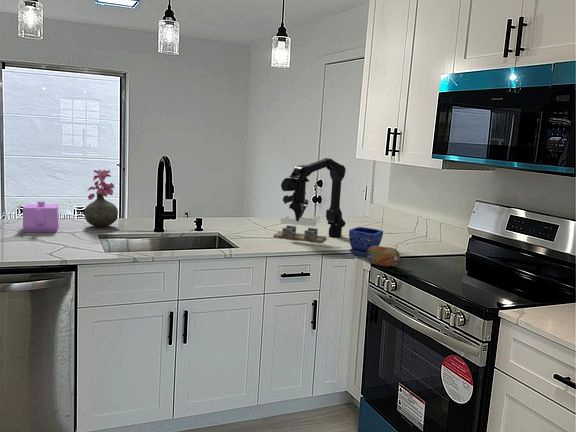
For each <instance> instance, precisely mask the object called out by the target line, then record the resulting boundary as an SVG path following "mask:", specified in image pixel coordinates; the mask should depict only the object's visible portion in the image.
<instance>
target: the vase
mask: <svg viewBox="0 0 576 432" xmlns="http://www.w3.org/2000/svg"><path fill="white" fill-rule="evenodd" d="M93 173H94V174H95V173H96V174H97V175H93V178H92V179H93V182H94V181H95V180H97V179H98V180H97V181H95V182H94V186H89V188H88V189H87V192H88V191H90V190H91V191H95V190H96V193H90V194H89V195H88V197H87V199H88V200H89V201H90V200H93V201H92V202H90V203H89V204H87V206H85V209H84V219H85V221H86V222H87V223H88V224H89V225H91V226H93V227H94V228H95V227H96V228H95V229H106V227H107V228H108V227H109V226H111V225H113V224H114V223H115V222H116V221H117V219H118V216H119V211H118V208H117V206H116V205H115V203H114V204H113V203H112V202H111V201H108V200H106V199H105V197H108V195H110V196H113V194H114V190H113V189H115V184H114V183H112V182H110V183H109V184H108V183H107V182H106V181H105V179H106V178H107V177H109V178H112V176H111V174H109V173H111V170H106V169H103V170H101V169H98V170H96V169H93ZM100 186H101V187H100ZM95 194H96V195H95ZM95 197H96V199H95V200H94V198H95Z"/></svg>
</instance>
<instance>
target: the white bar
mask: <svg viewBox="0 0 576 432" xmlns="http://www.w3.org/2000/svg"><path fill="white" fill-rule="evenodd" d="M280 224H283V225H285V224H287V225H294V226H297V225H298V226H307V227H315V226H316V225H317V219H316V218H308V217H307V218H305V217H301V218H300V219H299V221H296V217H293V216H285V215H284V216H283V215H282V216H281V217H280Z"/></svg>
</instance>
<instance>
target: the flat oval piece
mask: <svg viewBox="0 0 576 432" xmlns="http://www.w3.org/2000/svg"><path fill="white" fill-rule="evenodd" d="M365 257H366V259H367V261H368V262H369V263H370V264H372V265H377V266H382V267H386V268H387V267H388V268H390V267H389V266H390V265H393V267H395V266H396V265H398V264H399V262H400V259H401V254H400V252H399V251H398V250H397V248H394V247H389V246H388V247H387V246H381V245H379V246H371V247H370V248H369V249H368V250H367V252H366V256H365Z"/></svg>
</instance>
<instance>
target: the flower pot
mask: <svg viewBox="0 0 576 432" xmlns="http://www.w3.org/2000/svg"><path fill="white" fill-rule="evenodd" d="M383 235H384V230H381V229H376V228H370V227H363V226H357V227H353V228H351V229H349V230H348V241H349V245H350V248H349V253H351V254H353V255H355V256H356V255H357V256H362V257H366V252H367V250H368V249H369V248H370V247H371V246H381V241H382V238H383Z"/></svg>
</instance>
